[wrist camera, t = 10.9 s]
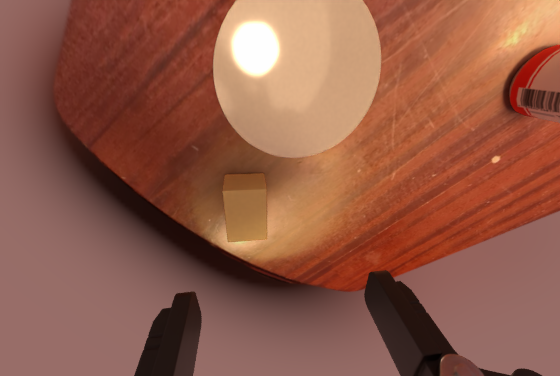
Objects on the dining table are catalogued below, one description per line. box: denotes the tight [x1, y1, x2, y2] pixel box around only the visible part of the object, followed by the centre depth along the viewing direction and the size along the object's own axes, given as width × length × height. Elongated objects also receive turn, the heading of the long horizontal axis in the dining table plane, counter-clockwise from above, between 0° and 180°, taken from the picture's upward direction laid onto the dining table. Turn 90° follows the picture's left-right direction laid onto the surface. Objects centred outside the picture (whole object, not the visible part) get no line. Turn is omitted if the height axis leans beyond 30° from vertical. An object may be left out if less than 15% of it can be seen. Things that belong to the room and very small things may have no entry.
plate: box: [213, 0, 381, 158], centre depth 20 cm, size 14×14×1 cm
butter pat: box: [222, 173, 267, 242], centre depth 24 cm, size 4×6×4 cm, turn 179°
